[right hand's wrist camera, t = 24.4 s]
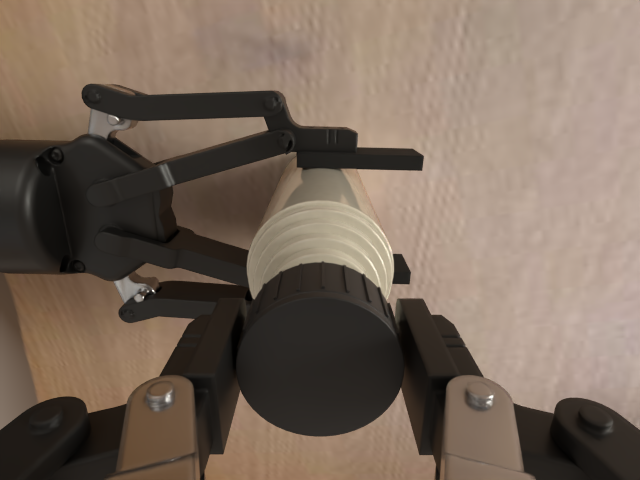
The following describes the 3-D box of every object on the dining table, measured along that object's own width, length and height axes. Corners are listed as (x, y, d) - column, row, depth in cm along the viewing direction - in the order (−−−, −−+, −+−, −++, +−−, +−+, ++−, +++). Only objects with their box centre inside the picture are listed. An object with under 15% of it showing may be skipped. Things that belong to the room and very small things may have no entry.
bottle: (355, 231, 30) (407, 445, 12) (277, 224, 30) (211, 430, 12) (366, 152, 28) (448, 267, 10) (282, 144, 28) (212, 247, 10)
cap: (231, 364, 13) (215, 415, 11) (270, 240, 11) (259, 272, 9) (362, 399, 13) (369, 454, 11) (415, 284, 12) (434, 324, 10)
